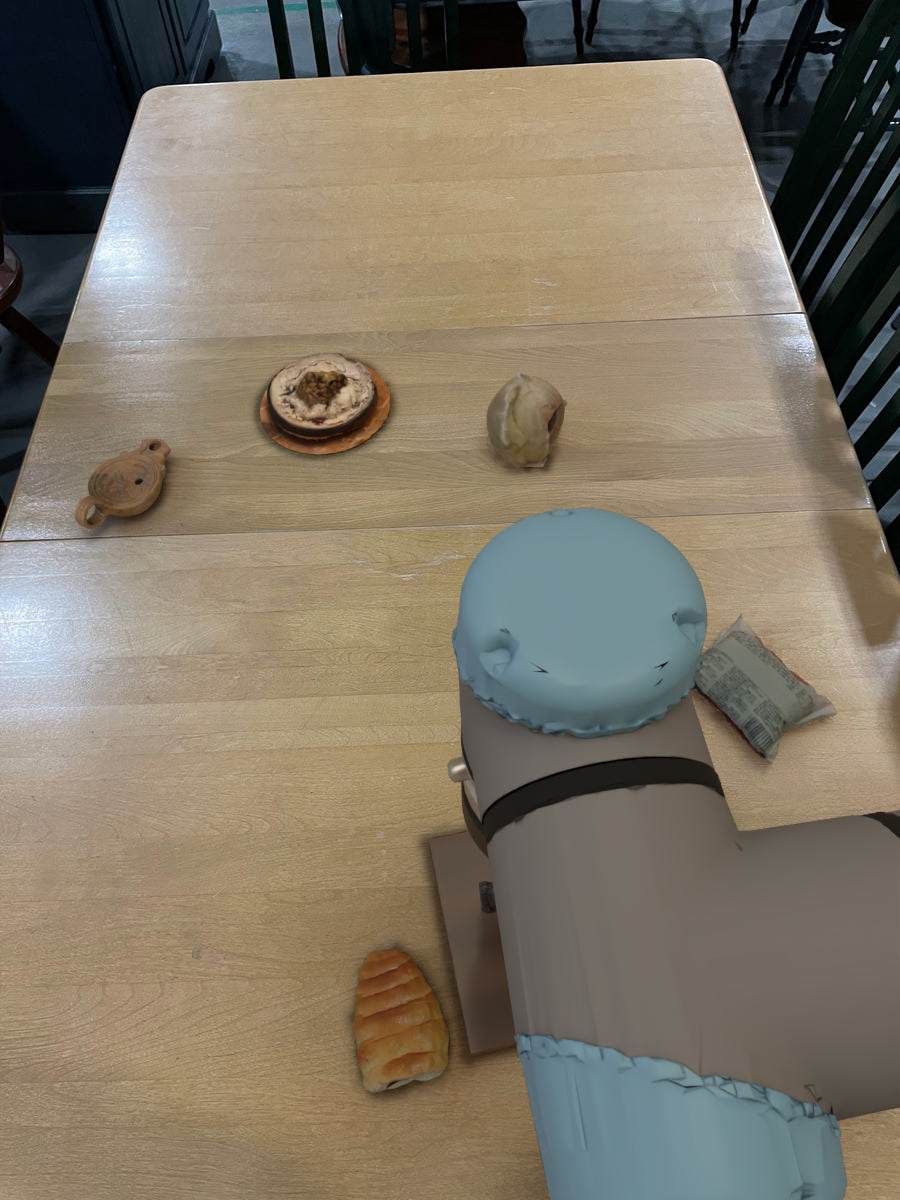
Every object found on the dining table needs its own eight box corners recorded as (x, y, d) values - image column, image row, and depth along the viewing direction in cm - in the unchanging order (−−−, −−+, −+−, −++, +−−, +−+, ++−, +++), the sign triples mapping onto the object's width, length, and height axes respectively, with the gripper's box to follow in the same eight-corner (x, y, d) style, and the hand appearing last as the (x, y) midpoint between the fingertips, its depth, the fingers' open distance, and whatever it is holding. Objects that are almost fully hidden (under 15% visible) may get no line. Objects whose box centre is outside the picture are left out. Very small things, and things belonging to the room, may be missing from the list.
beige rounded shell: (503, 486, 94) (479, 443, 85) (486, 423, 97) (461, 375, 88) (585, 458, 92) (570, 411, 83) (565, 394, 95) (548, 343, 86)
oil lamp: (146, 445, 95) (131, 414, 91) (198, 470, 93) (185, 439, 89) (64, 528, 89) (43, 498, 85) (117, 556, 87) (99, 527, 83)
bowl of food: (273, 468, 93) (266, 441, 89) (249, 376, 100) (241, 349, 97) (403, 436, 95) (401, 409, 91) (370, 349, 103) (366, 321, 99)
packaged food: (735, 628, 81) (749, 601, 77) (831, 721, 76) (851, 698, 71) (666, 676, 78) (677, 650, 74) (760, 776, 73) (777, 755, 69)
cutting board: (778, 982, 64) (783, 980, 63) (470, 1056, 62) (470, 1054, 61) (703, 784, 73) (706, 779, 72) (428, 843, 71) (428, 839, 70)
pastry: (340, 965, 66) (334, 956, 62) (424, 940, 67) (422, 930, 63) (367, 1101, 61) (362, 1099, 58) (458, 1071, 62) (457, 1068, 59)
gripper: (425, 630, 42) (440, 791, 61) (510, 998, 33) (495, 1047, 53) (572, 601, 42) (540, 770, 62) (694, 954, 33) (611, 1019, 53)
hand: (519, 897), depth 57 cm, fingers closed on knife, 4 cm apart
